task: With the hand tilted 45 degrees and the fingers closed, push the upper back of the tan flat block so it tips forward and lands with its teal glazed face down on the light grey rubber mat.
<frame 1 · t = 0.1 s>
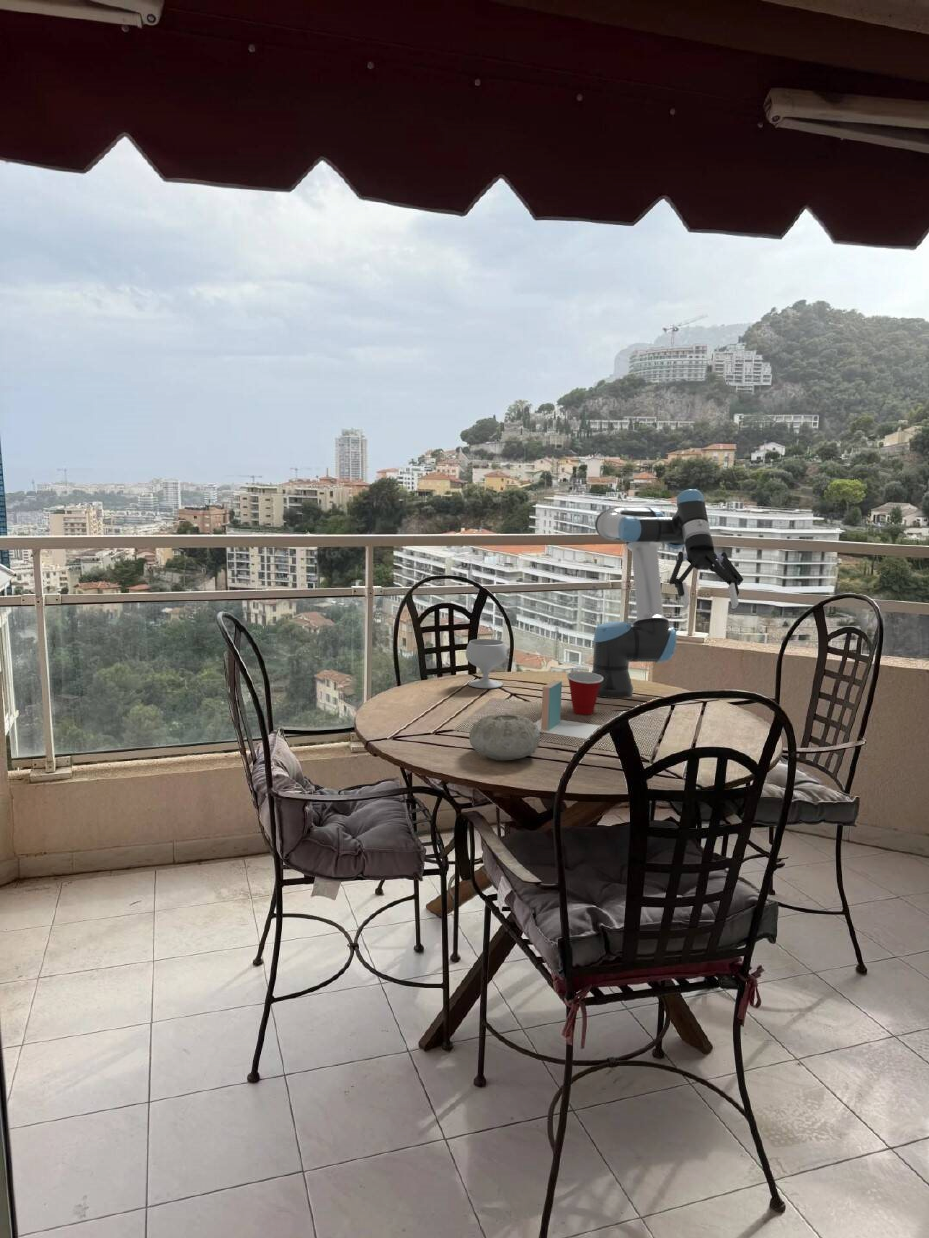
hand: (711, 606, 220), 36 cm above the table, tool tilted 35°, fingers open, 13 cm apart
plastic cup: (583, 715, 244), on the table
chalice: (485, 685, 279), on the table
mat: (567, 730, 227), on the table
tan flat block: (550, 725, 229), point 1 cm above the table, touching mat
grey rounded stone: (504, 755, 205), on the table
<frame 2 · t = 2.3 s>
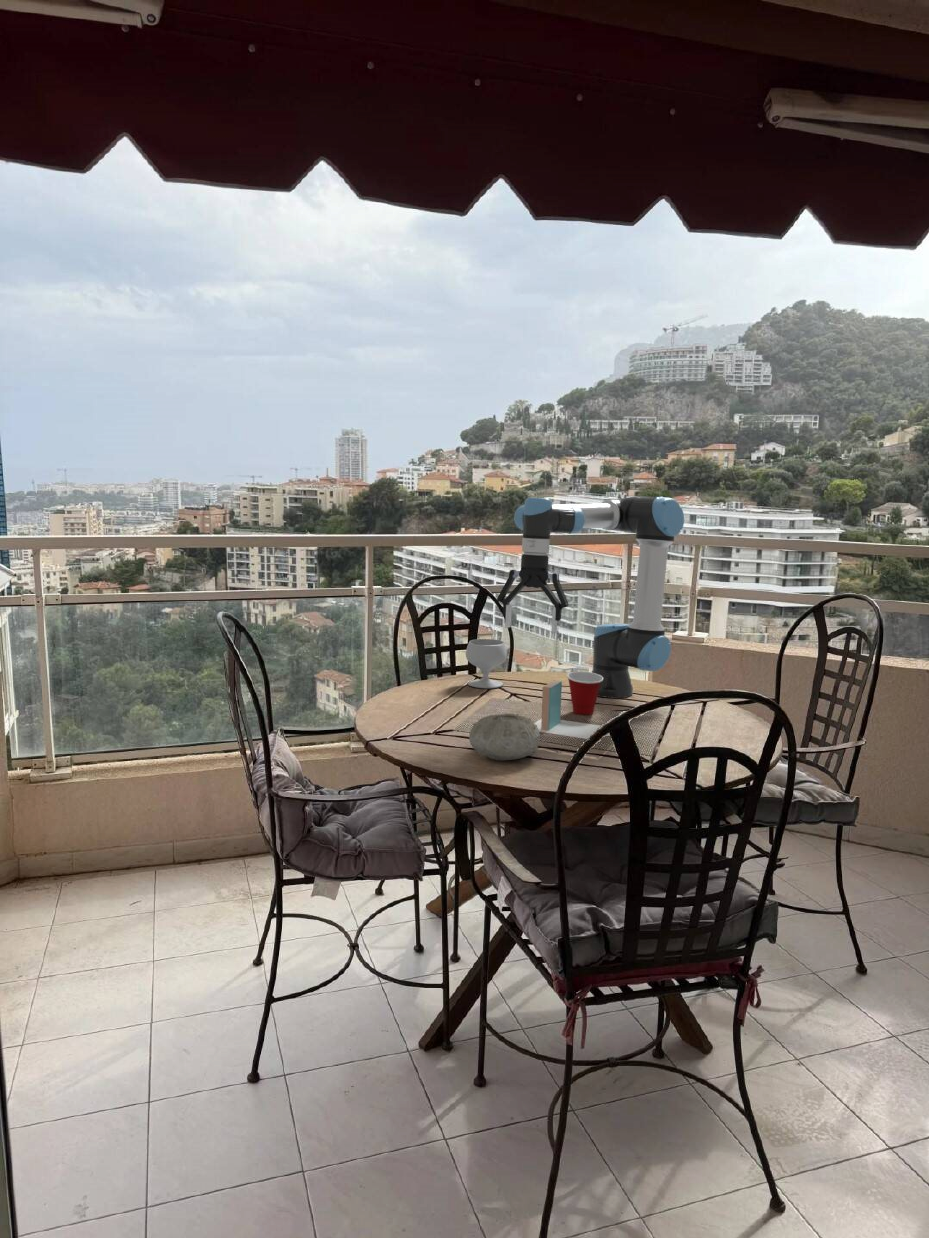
hand: (530, 629, 228), 27 cm above the table, tool pointing down, fingers open, 13 cm apart
nothing on the table moved.
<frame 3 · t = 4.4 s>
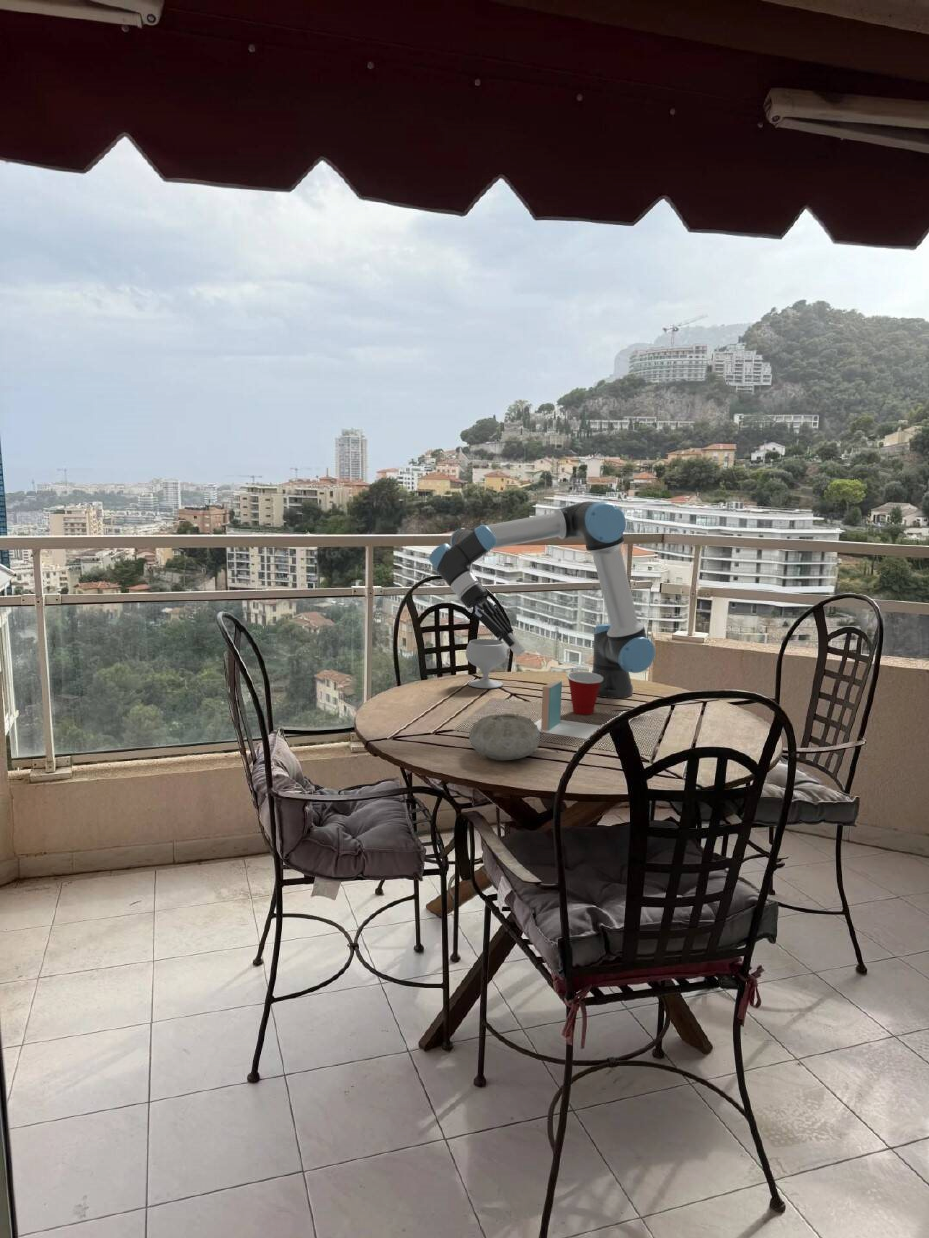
hand: (521, 653, 230), 20 cm above the table, tool tilted 45°, fingers closed
nothing on the table moved.
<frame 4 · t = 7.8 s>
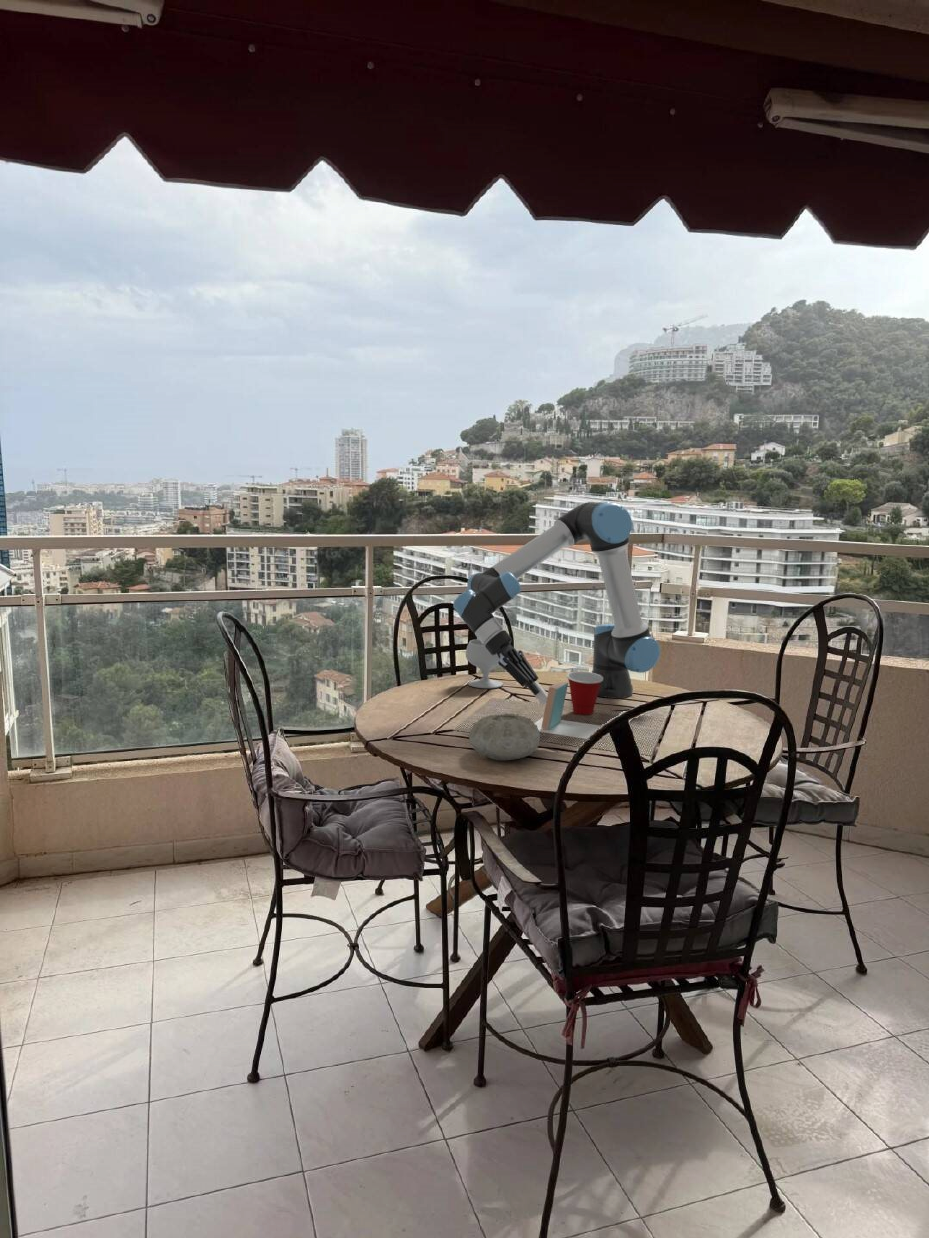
hand: (546, 701, 228), 7 cm above the table, tool tilted 45°, fingers closed
tan flat block: (550, 724, 229), point 1 cm above the table, tilted 9°, touching mat
everything else where it was.
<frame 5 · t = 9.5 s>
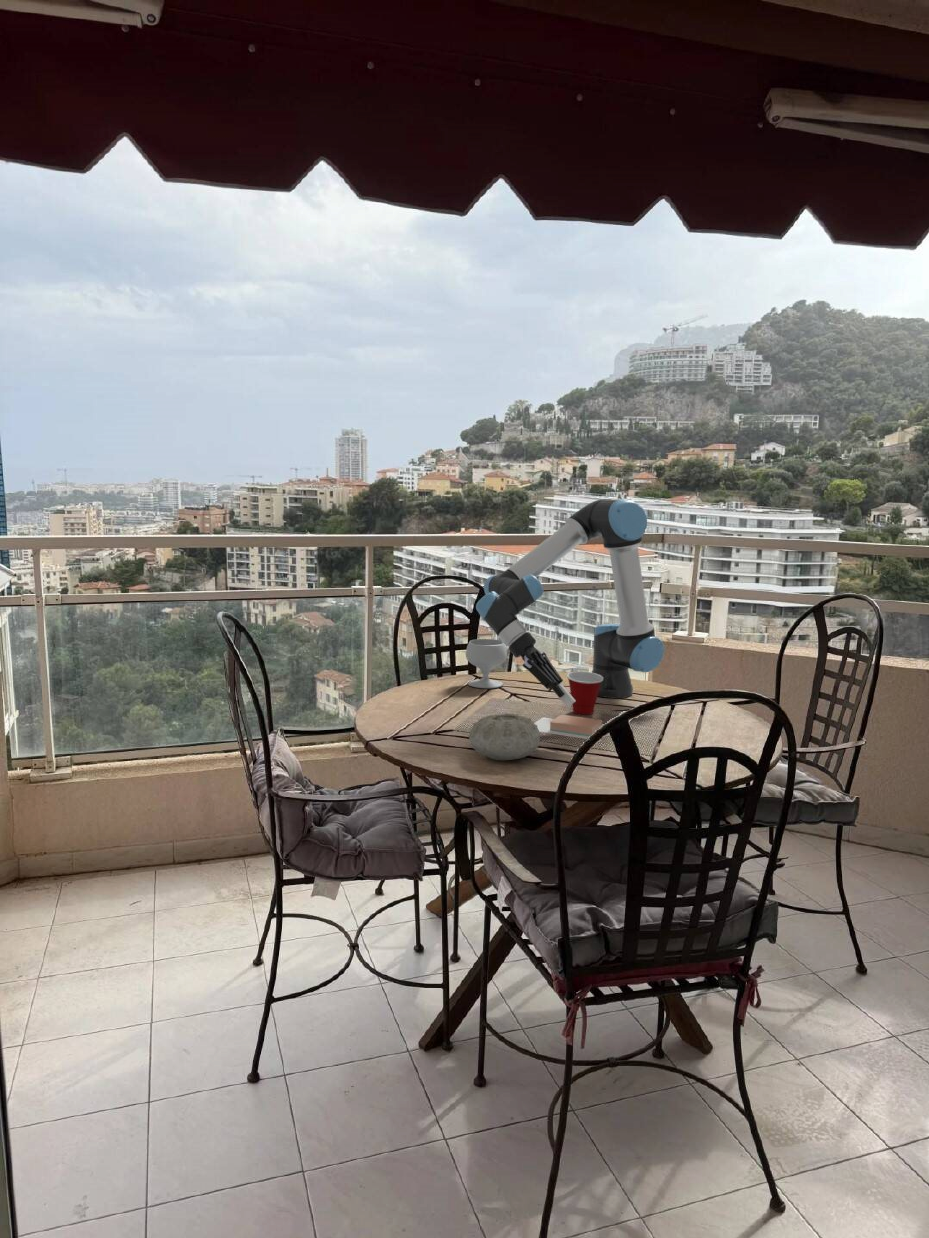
hand: (571, 704, 226), 8 cm above the table, tool tilted 45°, fingers closed
tan flat block: (555, 722, 229), point 2 cm above the table, tilted 90°, touching mat
everything else where it was.
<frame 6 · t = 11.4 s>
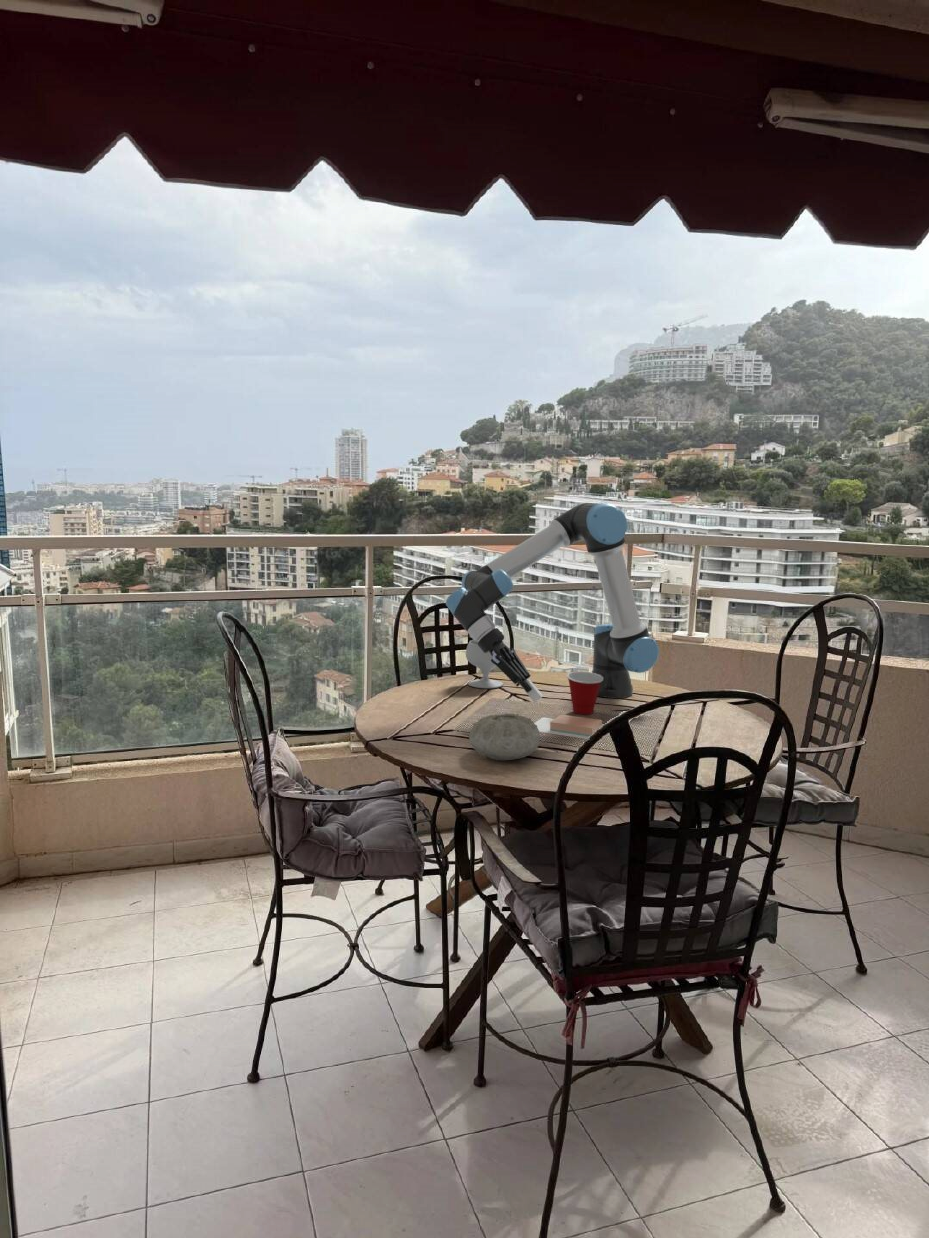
hand: (538, 699, 229), 8 cm above the table, tool tilted 45°, fingers closed
nothing on the table moved.
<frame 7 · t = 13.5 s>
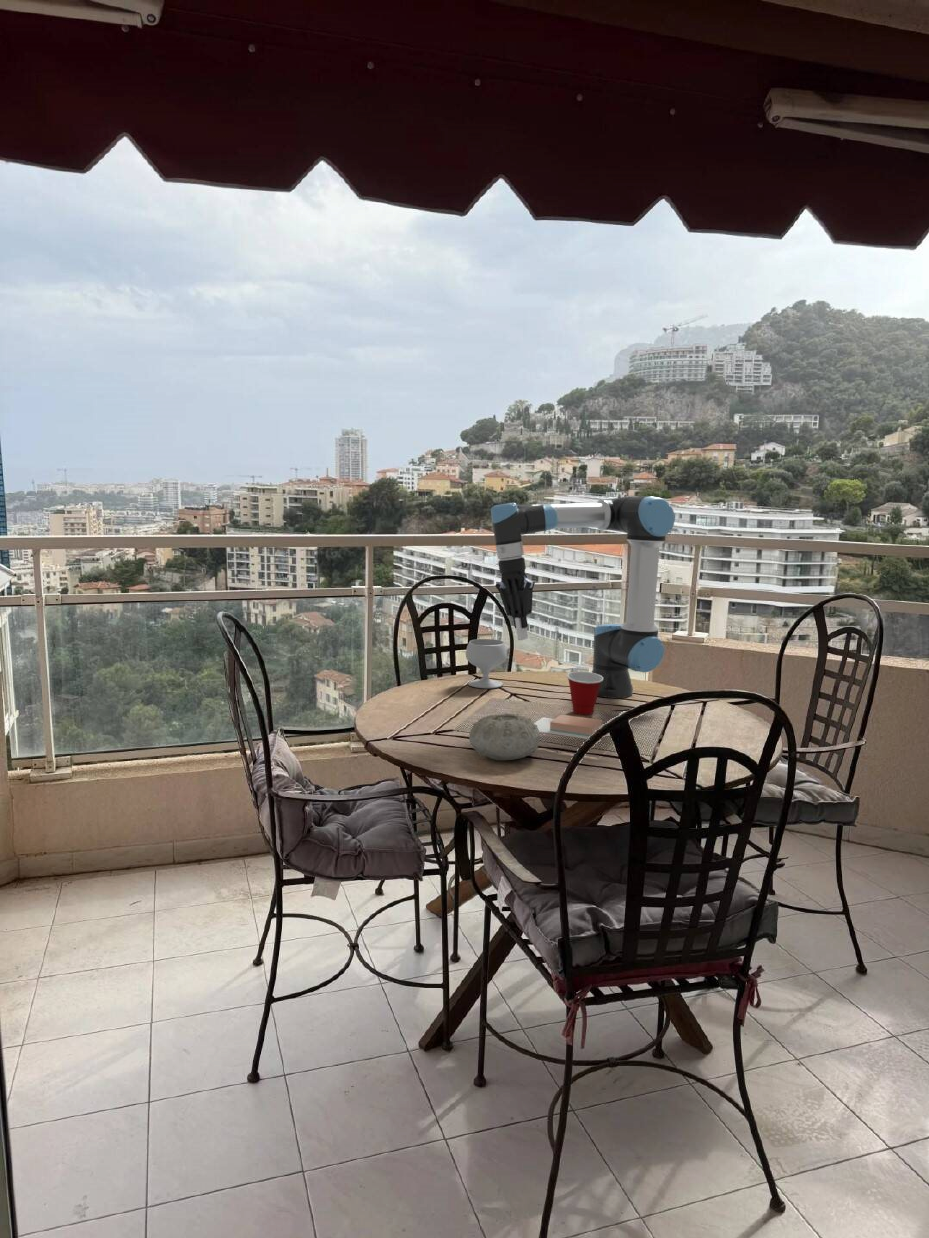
hand: (523, 639, 235), 24 cm above the table, tool pointing down, fingers closed
nothing on the table moved.
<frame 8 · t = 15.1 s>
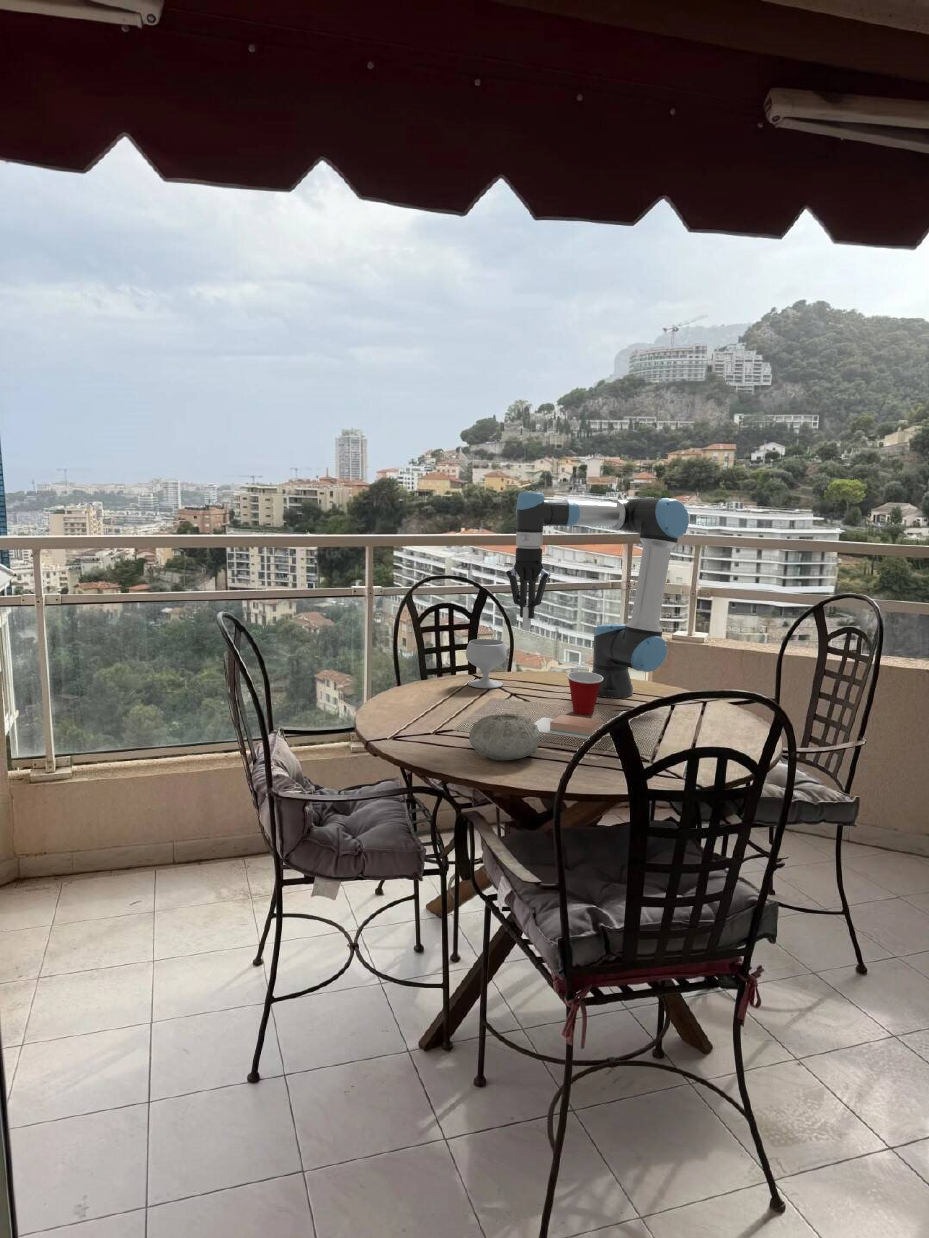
hand: (526, 629, 235), 26 cm above the table, tool pointing down, fingers closed
nothing on the table moved.
at the end: tan flat block tilted 90°; tan flat block touching mat; tan flat block 3.6 cm from the mat (horizontally) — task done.
